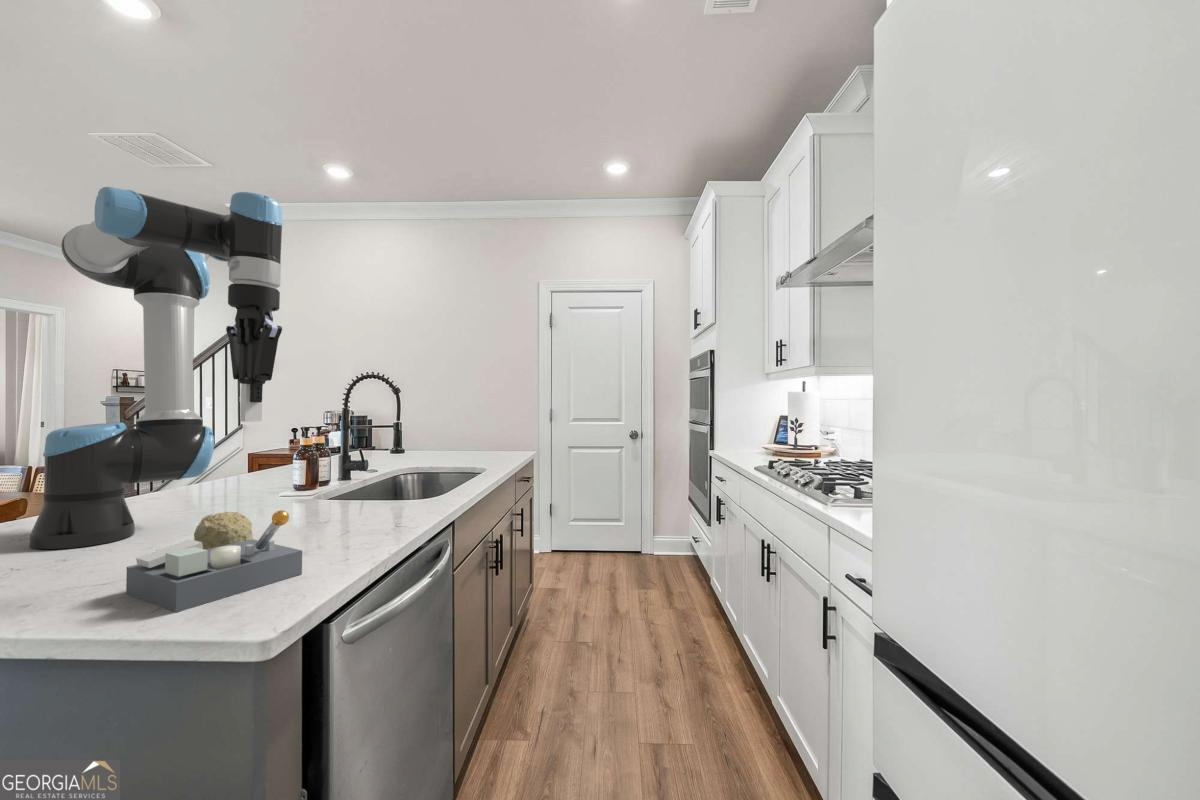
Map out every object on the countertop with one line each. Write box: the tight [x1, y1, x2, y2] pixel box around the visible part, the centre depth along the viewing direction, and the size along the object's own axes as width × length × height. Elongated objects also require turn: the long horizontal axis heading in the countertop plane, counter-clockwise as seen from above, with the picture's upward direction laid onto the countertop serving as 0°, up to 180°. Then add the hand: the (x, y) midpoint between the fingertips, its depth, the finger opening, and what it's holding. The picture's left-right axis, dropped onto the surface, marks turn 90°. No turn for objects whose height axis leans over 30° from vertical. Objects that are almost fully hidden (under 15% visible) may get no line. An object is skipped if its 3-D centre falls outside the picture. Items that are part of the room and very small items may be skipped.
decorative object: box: [193, 511, 254, 550], centre depth 98 cm, size 9×10×10 cm
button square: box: [165, 547, 208, 577], centre depth 76 cm, size 4×4×3 cm
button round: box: [210, 546, 241, 570], centre depth 80 cm, size 4×4×3 cm
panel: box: [125, 538, 303, 613], centre depth 83 cm, size 14×18×6 cm
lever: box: [255, 510, 290, 550], centre depth 85 cm, size 2×2×9 cm
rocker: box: [135, 538, 203, 568], centre depth 80 cm, size 4×7×1 cm, turn 153°
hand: (251, 421), depth 92 cm, fingers closed
